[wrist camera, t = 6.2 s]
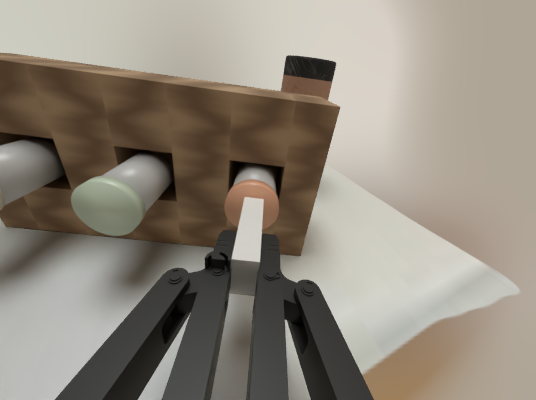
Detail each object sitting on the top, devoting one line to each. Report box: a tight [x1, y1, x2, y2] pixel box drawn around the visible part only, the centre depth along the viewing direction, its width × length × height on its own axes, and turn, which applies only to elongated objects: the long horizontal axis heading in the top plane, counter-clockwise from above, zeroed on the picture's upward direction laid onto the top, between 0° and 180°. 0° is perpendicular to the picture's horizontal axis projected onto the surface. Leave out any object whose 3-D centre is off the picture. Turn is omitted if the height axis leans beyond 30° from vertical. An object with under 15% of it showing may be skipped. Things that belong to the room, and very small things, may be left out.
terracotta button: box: [224, 162, 279, 230], centre depth 21 cm, size 4×7×4 cm, turn 0°
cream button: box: [0, 137, 65, 211], centre depth 18 cm, size 4×7×4 cm, turn 179°
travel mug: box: [281, 56, 336, 101], centre depth 38 cm, size 8×8×20 cm
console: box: [0, 53, 340, 256], centre depth 24 cm, size 32×8×16 cm, turn 90°
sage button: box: [71, 151, 173, 236], centre depth 18 cm, size 4×7×4 cm, turn 179°
